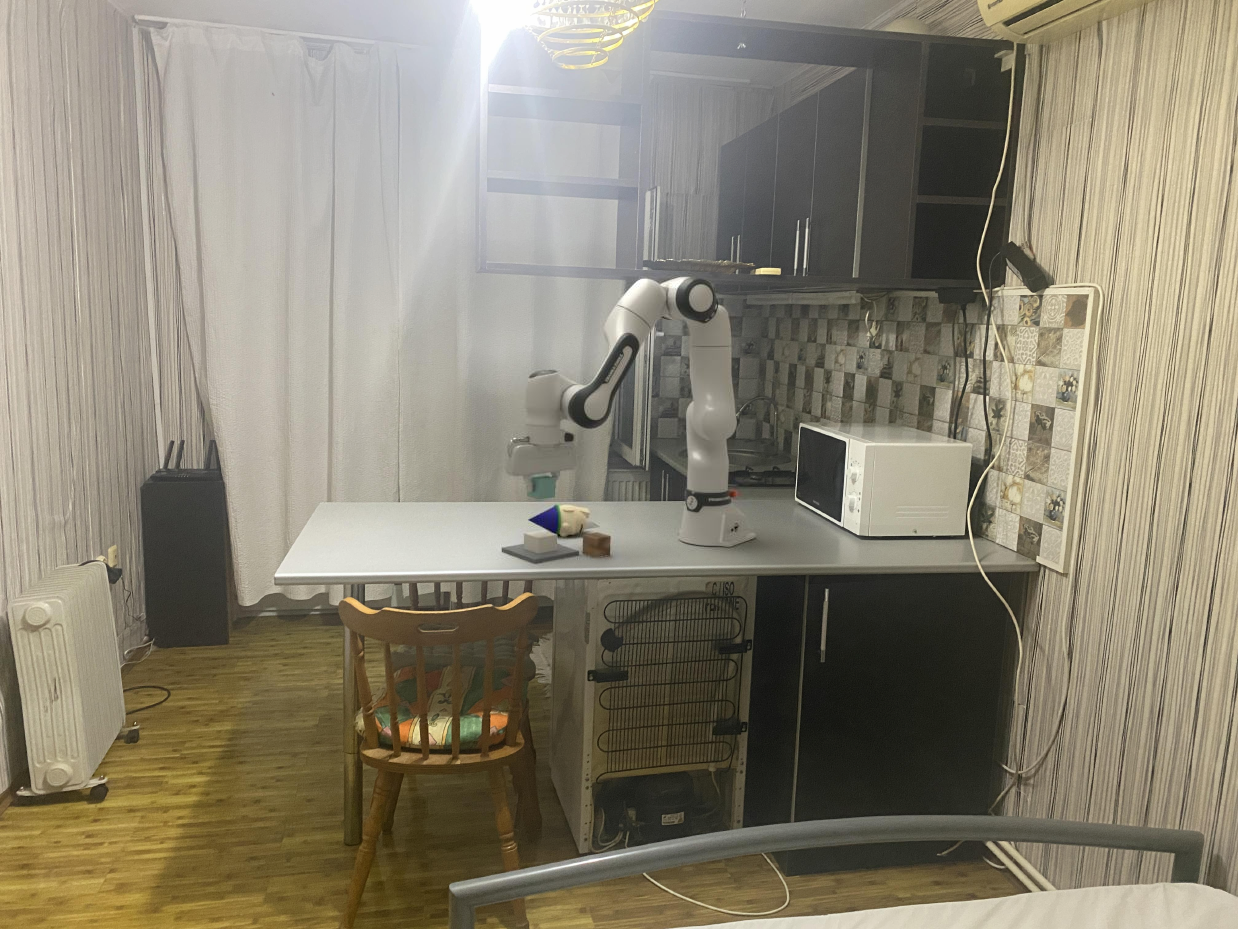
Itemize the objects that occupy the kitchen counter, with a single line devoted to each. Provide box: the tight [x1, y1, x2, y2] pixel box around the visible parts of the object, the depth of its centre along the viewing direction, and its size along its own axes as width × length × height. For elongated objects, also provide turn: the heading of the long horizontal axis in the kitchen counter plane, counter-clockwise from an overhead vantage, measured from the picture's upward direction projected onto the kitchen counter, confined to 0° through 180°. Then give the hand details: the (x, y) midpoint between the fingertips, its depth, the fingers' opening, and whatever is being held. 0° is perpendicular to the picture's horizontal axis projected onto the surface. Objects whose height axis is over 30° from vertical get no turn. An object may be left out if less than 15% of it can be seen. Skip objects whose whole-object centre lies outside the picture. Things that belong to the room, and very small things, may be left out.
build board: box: [501, 529, 580, 564], centre depth 233 cm, size 14×14×5 cm
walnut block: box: [582, 532, 612, 559], centre depth 234 cm, size 5×5×5 cm
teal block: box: [526, 474, 556, 500], centre depth 231 cm, size 5×5×5 cm
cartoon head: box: [527, 504, 600, 538], centre depth 253 cm, size 9×10×20 cm
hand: (541, 490), depth 231 cm, fingers closed on teal block, 5 cm apart
